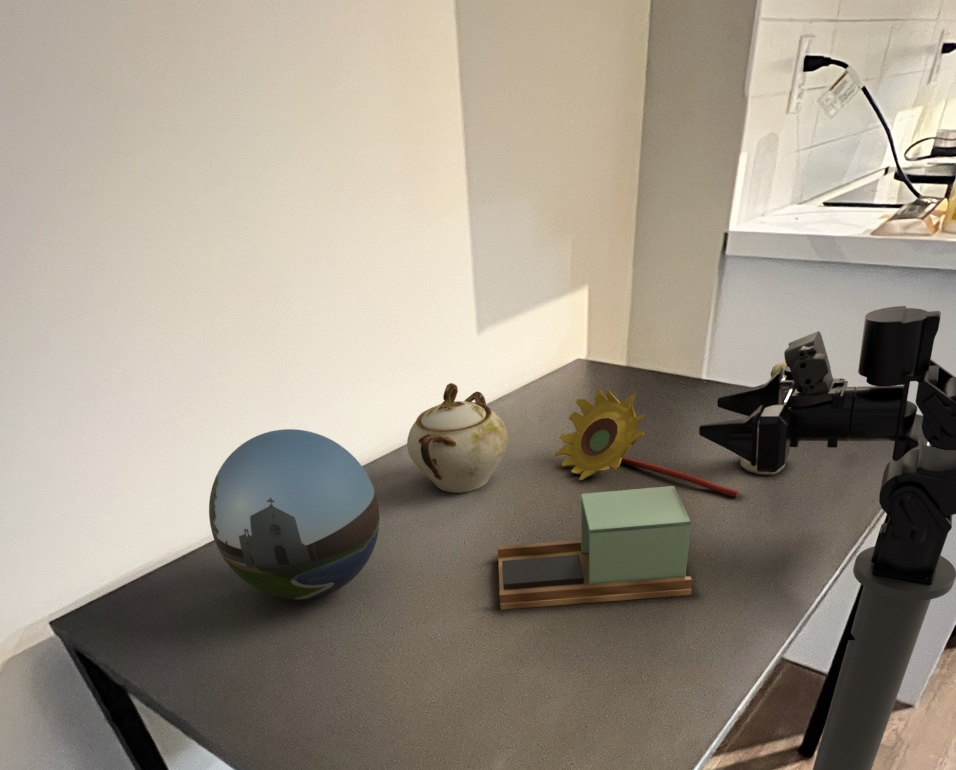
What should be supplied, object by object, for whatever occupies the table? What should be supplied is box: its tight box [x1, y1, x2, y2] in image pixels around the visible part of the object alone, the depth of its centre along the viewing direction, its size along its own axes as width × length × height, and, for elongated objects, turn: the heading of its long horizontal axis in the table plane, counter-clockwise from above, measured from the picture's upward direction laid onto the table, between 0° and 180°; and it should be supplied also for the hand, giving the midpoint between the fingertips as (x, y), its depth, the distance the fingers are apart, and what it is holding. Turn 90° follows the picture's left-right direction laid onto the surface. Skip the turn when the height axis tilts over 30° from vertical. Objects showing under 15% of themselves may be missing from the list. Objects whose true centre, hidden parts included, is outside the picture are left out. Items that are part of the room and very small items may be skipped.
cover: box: [580, 485, 692, 584], centre depth 87 cm, size 11×9×8 cm
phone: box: [502, 555, 584, 590], centre depth 90 cm, size 10×6×1 cm, turn 90°
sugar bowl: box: [406, 382, 509, 494], centre depth 110 cm, size 20×15×15 cm
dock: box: [497, 539, 693, 611], centre depth 90 cm, size 22×12×2 cm, turn 90°
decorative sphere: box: [208, 428, 380, 600], centre depth 88 cm, size 20×20×20 cm
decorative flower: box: [554, 388, 740, 498], centre depth 108 cm, size 13×8×30 cm
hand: (708, 415), depth 89 cm, fingers open, 9 cm apart
